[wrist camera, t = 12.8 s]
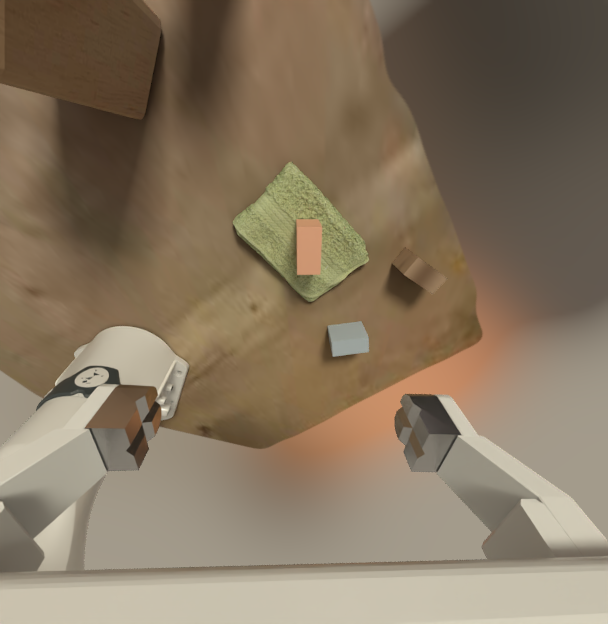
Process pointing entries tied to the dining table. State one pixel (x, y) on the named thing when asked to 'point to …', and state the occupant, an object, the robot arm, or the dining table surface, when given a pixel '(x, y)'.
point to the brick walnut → (419, 271)
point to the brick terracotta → (308, 246)
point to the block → (81, 51)
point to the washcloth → (282, 232)
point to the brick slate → (348, 339)
